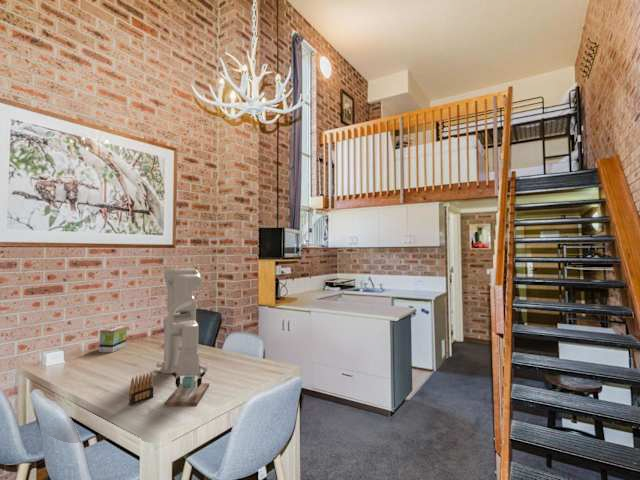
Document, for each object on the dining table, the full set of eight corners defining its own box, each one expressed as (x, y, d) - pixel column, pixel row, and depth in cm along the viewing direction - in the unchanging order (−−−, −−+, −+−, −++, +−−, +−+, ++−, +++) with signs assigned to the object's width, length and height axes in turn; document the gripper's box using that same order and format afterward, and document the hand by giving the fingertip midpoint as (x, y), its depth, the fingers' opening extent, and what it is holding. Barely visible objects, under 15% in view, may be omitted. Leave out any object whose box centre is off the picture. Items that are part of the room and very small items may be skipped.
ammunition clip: (151, 396, 161) (152, 370, 161) (153, 397, 160) (154, 371, 160) (128, 404, 152) (129, 377, 152) (130, 405, 151) (131, 378, 151)
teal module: (182, 394, 159) (182, 379, 160) (186, 388, 165) (186, 374, 166) (190, 393, 160) (191, 378, 160) (194, 388, 166) (194, 374, 166)
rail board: (164, 406, 151) (164, 394, 151) (180, 386, 173) (181, 375, 173) (196, 405, 152) (197, 393, 152) (208, 386, 174) (209, 375, 174)
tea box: (113, 352, 227) (114, 330, 227) (98, 352, 227) (99, 330, 227) (126, 346, 242) (127, 325, 242) (112, 346, 242) (113, 325, 242)
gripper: (168, 352, 159) (167, 389, 158) (206, 352, 160) (204, 389, 159) (173, 347, 166) (172, 383, 165) (209, 347, 167) (208, 382, 167)
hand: (188, 386), depth 162 cm, fingers open, 9 cm apart
